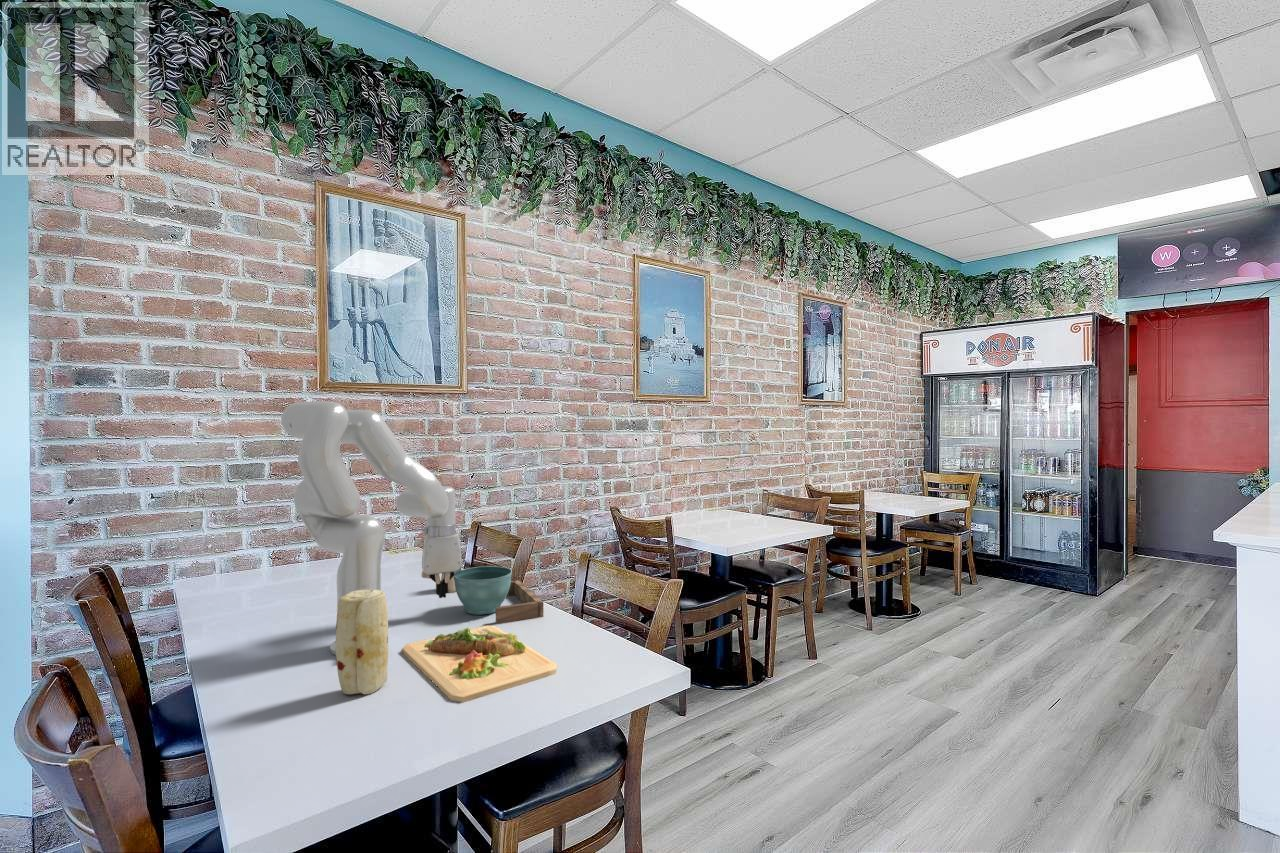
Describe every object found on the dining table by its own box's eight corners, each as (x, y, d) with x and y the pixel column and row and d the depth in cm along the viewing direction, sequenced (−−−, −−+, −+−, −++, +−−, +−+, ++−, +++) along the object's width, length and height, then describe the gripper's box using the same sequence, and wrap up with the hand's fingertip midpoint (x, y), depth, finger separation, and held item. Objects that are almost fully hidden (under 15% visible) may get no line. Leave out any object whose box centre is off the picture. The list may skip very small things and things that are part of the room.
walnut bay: (543, 616, 164) (543, 602, 163) (497, 623, 158) (497, 608, 158) (518, 592, 187) (518, 579, 187) (477, 598, 181) (477, 585, 181)
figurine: (467, 587, 193) (467, 550, 193) (458, 593, 186) (458, 555, 186) (446, 586, 194) (446, 550, 194) (436, 592, 187) (436, 554, 187)
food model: (383, 678, 124) (382, 583, 124) (394, 688, 119) (393, 590, 119) (332, 692, 118) (331, 592, 118) (341, 704, 113) (340, 599, 113)
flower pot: (452, 604, 174) (452, 568, 174) (508, 599, 179) (508, 563, 179) (454, 622, 159) (454, 582, 159) (515, 615, 164) (515, 576, 164)
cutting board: (562, 675, 127) (561, 640, 127) (456, 708, 113) (455, 668, 113) (492, 630, 155) (492, 602, 155) (399, 652, 140) (399, 621, 140)
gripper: (414, 535, 158) (415, 604, 158) (471, 530, 165) (472, 596, 165) (411, 531, 165) (411, 596, 165) (466, 526, 171) (466, 589, 172)
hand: (442, 596), depth 165 cm, fingers closed
